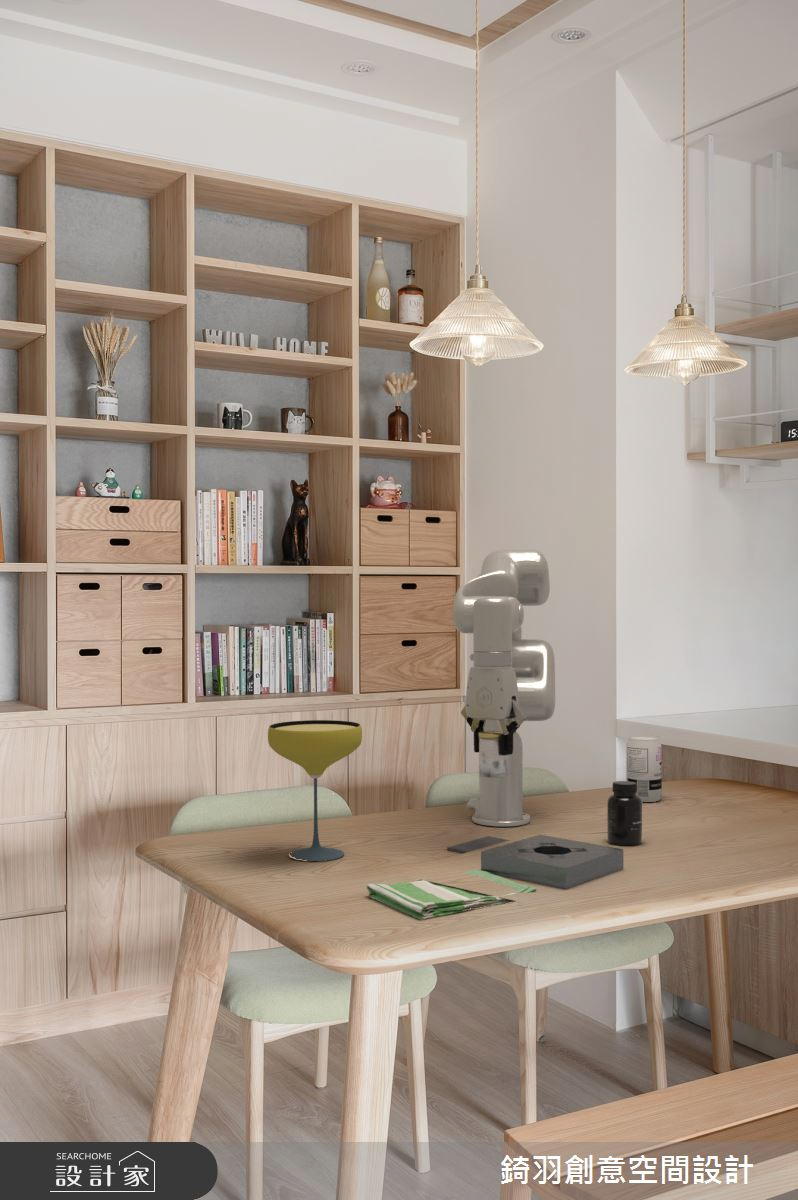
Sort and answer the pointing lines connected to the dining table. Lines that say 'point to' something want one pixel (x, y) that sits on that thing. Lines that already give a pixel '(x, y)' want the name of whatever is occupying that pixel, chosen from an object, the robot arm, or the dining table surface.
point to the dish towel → (440, 896)
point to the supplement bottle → (624, 815)
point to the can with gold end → (491, 755)
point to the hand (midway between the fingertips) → (493, 752)
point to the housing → (552, 861)
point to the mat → (475, 844)
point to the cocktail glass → (315, 761)
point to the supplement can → (645, 766)
